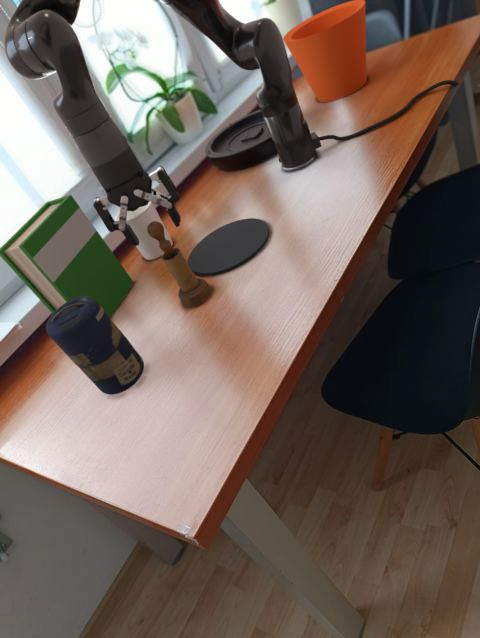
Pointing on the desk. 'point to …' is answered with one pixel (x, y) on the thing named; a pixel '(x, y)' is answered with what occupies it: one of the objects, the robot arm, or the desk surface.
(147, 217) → the white cup
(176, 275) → the brown wooden turned piece
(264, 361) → the desk surface
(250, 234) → the disc
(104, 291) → the hardback book
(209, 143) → the black round plastic slab
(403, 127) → the desk surface
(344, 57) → the flowerpot
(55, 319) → the canister
